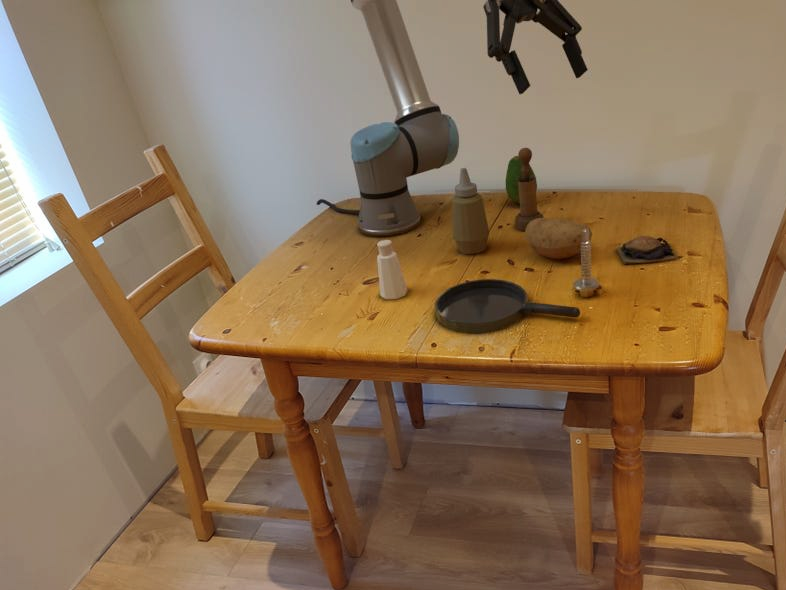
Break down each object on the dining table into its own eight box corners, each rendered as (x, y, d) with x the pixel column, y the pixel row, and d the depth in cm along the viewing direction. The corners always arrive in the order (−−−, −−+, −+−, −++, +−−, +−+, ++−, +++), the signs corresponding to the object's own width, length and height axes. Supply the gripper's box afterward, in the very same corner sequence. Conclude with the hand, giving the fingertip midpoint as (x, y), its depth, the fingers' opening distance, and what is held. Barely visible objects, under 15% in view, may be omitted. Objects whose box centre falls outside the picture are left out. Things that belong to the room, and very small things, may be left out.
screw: (574, 300, 120) (572, 288, 124) (601, 298, 119) (597, 286, 123) (572, 234, 113) (570, 224, 117) (601, 232, 112) (597, 221, 116)
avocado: (508, 198, 170) (505, 152, 163) (538, 197, 168) (536, 150, 162) (505, 209, 163) (501, 162, 157) (536, 208, 162) (534, 160, 155)
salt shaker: (396, 302, 127) (386, 249, 121) (375, 297, 129) (364, 245, 123) (413, 289, 130) (404, 238, 124) (392, 285, 133) (382, 235, 127)
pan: (420, 326, 118) (418, 316, 116) (459, 284, 130) (458, 275, 129) (508, 338, 111) (507, 328, 110) (540, 293, 124) (540, 283, 123)
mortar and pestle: (511, 230, 151) (505, 152, 141) (520, 220, 156) (515, 144, 146) (539, 232, 149) (534, 152, 139) (547, 221, 154) (543, 144, 144)
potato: (584, 269, 130) (583, 232, 126) (519, 262, 136) (516, 226, 132) (599, 250, 137) (598, 213, 133) (537, 244, 143) (535, 209, 139)
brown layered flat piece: (623, 266, 130) (624, 249, 128) (615, 249, 137) (615, 233, 135) (677, 260, 129) (678, 243, 127) (666, 244, 136) (667, 227, 134)
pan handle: (519, 313, 116) (518, 304, 115) (523, 307, 118) (523, 299, 117) (578, 320, 112) (578, 311, 111) (581, 314, 114) (581, 305, 113)
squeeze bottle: (496, 243, 146) (489, 163, 136) (481, 258, 140) (472, 175, 130) (464, 240, 149) (454, 162, 139) (448, 255, 143) (437, 174, 133)
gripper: (455, -37, 105) (509, 86, 107) (568, -54, 117) (616, 57, 118) (437, -7, 112) (489, 108, 114) (546, -27, 123) (592, 78, 125)
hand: (554, 82), depth 116 cm, fingers open, 13 cm apart
